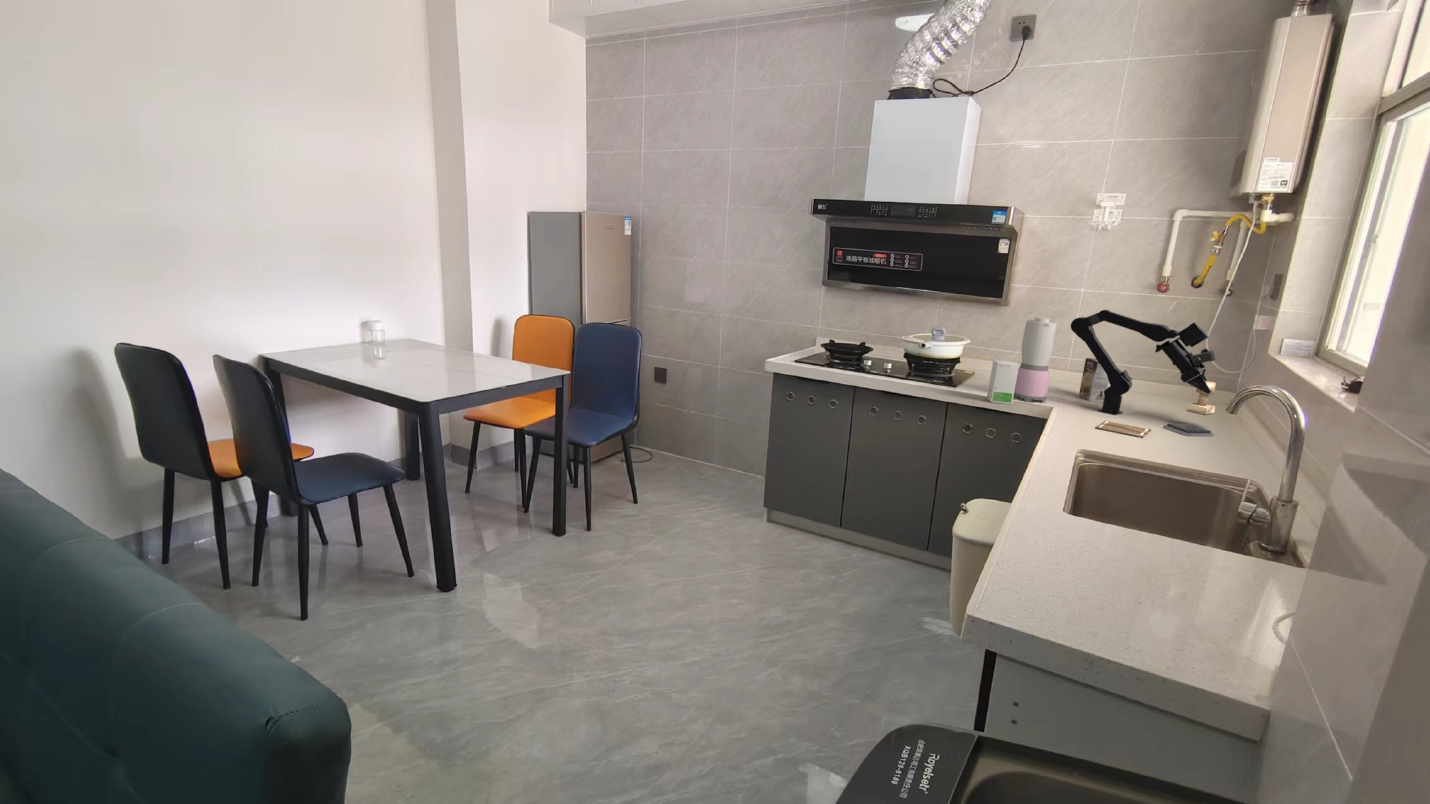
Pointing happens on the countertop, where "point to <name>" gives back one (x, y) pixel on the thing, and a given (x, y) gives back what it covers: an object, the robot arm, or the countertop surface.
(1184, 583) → the countertop surface
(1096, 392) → the coffee box
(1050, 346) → the blender
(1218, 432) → the countertop surface
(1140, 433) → the stamp board
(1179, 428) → the ink pad
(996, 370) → the skincare box
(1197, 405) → the rubber stamp
